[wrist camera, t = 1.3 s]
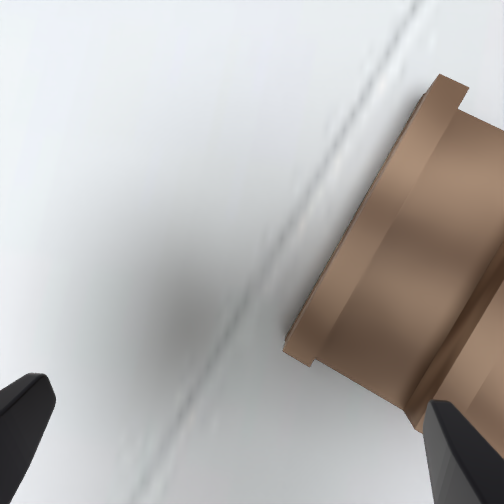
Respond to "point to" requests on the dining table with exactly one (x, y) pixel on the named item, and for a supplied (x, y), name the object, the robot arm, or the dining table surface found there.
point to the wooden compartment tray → (421, 273)
